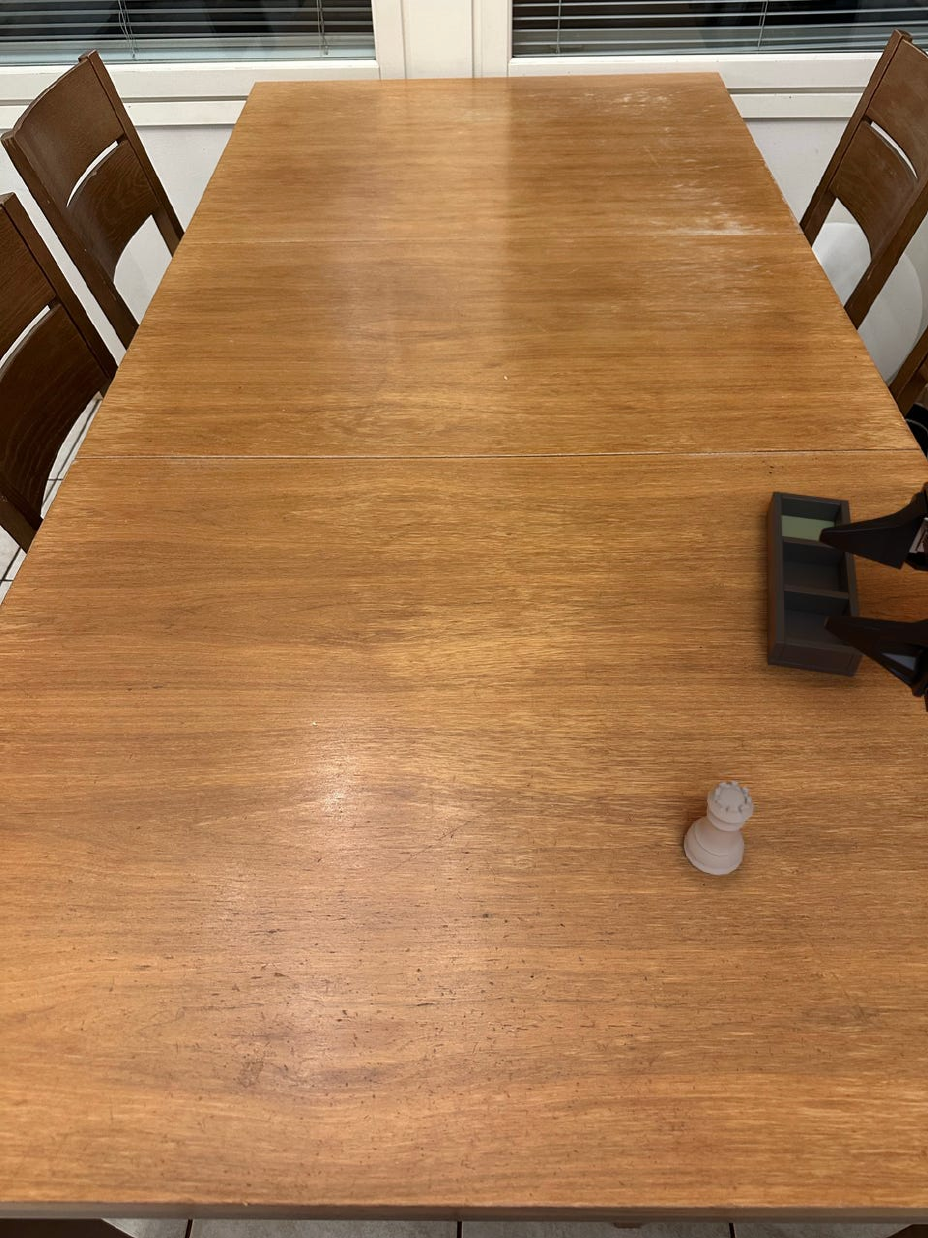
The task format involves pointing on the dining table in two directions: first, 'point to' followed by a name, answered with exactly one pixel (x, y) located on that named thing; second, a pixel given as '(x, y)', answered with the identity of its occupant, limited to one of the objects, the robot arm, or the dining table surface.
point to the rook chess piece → (720, 830)
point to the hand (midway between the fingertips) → (822, 576)
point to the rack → (808, 585)
